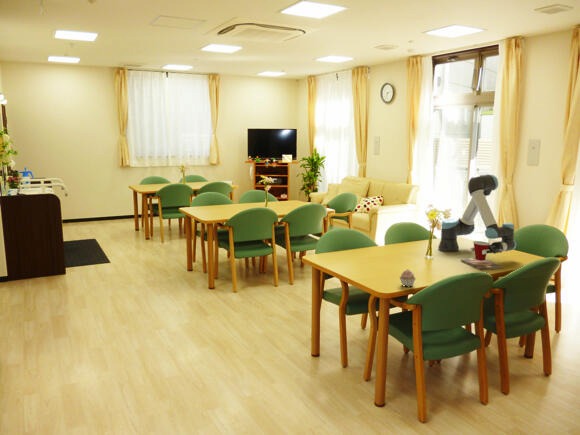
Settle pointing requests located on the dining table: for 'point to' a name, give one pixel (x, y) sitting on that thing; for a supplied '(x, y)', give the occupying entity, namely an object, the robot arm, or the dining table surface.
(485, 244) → the plastic cup
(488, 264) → the book
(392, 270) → the dining table surface
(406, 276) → the cupcake
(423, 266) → the dining table surface
